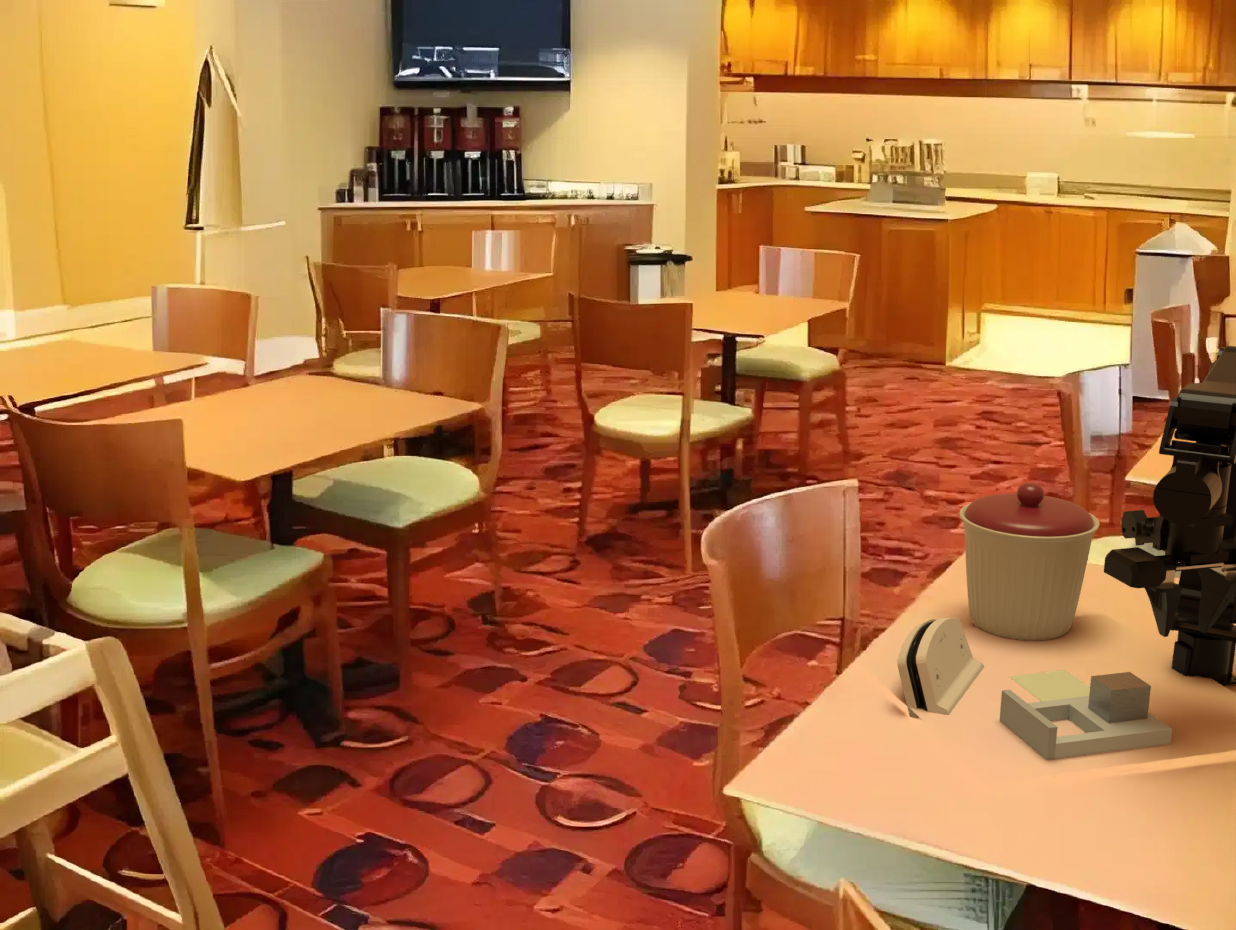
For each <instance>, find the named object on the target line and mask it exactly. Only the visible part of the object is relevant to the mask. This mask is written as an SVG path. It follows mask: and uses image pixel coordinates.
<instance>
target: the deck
mask: <svg viewBox="0 0 1236 930" xmlns="http://www.w3.org/2000/svg"><path fill="white" fill-rule="evenodd" d="M1000 696H1001V697H1000V710H999V722H1000V723H1001V724H1002V725H1003V726H1004V727H1006V728H1007V729H1009V730H1010V732H1012V733H1013V734H1014V735H1016V737H1018V738H1019V739H1021V740H1022V742H1024V743H1025V744H1026V745H1027V746H1029V747H1030V748H1031V749H1032V750H1033V751H1035V752H1036V753H1037V754H1038V755H1039V756H1041V757H1042V758H1043V759H1044V760H1046V761H1051V760H1059V759H1069V758H1075V757H1076V758H1077V757H1081V756H1082V757H1083V756H1089V755H1090V756H1091V755H1098V754H1105V753H1113V752H1121V751H1127V750H1128V751H1129V750H1136V749H1144V748H1153V747H1159V746H1167V745H1171V744H1172V737H1173V736H1172V735H1173V734H1172V733H1173V728H1172V727H1170V726H1169V725H1167V724H1166V723H1165V722H1164V721H1162V720H1160V719H1158V718H1157V717H1156V716H1155V715H1153V714H1152V713H1150V712H1148V718H1147V719H1140V720H1132V721H1123V722H1115V723H1107V722H1106V721H1104V720H1103V719H1102V718H1100V717H1099V716H1098V715H1096V714H1095V713H1094V712H1092V711H1091V710H1090V709H1088V704H1089V696H1083V697H1075V698H1066V699H1058V700H1049V701H1034V702H1026V701H1025V699H1022V698H1021V697H1020V696H1019V695H1017V694H1016V693H1015V692H1013V691H1012V690H1011V689H1009V688H1008V689H1002V690H1001V695H1000ZM1064 720H1069V721H1070V722H1072V723H1073V724H1074V725H1076V726H1077V727H1078V728H1079V729H1080V730H1082V731H1084V732H1083V733H1082V732H1081V733H1075V734H1067V735H1058V726H1057V725H1056V724H1055V723H1053V722H1054V721H1064Z"/></svg>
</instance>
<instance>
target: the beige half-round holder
mask: <svg viewBox="0 0 1236 930" xmlns="http://www.w3.org/2000/svg"><path fill="white" fill-rule="evenodd" d="M963 628H964V627H963V625H962V622H961V620H960V619H959V618H958V617H940V618H934V619H928V620H926V621H924V622H921V623H919V624H918V625H916V626H914V627H913V628H912V629H911V630H910V631H909V633H907V636H906V637H905V639H904V640H903V643H902V645H901V648H900V649H899V650H900V651H899V653H898V657H897V660H896V661H897V663H896V664H897V669H898V674H899V678H900V682H901V687H902V691H903V696H904V699H905V702H906V707H907V711H908V715H909V717H910V718H913V719H918V718H920V716H919V714H917V713H916V712H915V711H914V710H913V709H915V710H917V709H918V710H922V709H923V708H924V710H925V711H927V713H931V714H938V715H945V716H950V714H951V713H952V712H953V710H954V709H955V708H956V707H957V705H958V704H959V702H960V701H961V699H962V698H963V697H964V695H965V694H966V692H967V691H968V690H969V688H970V687H971V686H972V685H973V682H974V681H975V680H976V679H977V678H978V676H979V675H980V673H981V672H982V671H983V670H984V668H985V666H984V664H983V662H982V661H980V660H978V659H976V658H974V656H973V654H972V651H971V648H970V645H969V642H968V640H967V637H966V634H965V631H964V629H963Z"/></svg>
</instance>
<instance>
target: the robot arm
mask: <svg viewBox="0 0 1236 930" xmlns="http://www.w3.org/2000/svg"><path fill="white" fill-rule="evenodd" d="M1167 412H1168V413H1167V416H1166V419H1165V424H1164V427H1163V428H1164V429H1163V432H1162V436H1161V437H1162V438H1161V441H1160V445H1159V450H1158V454H1159V455H1164V456H1171V457H1172V465H1171V466H1170V469H1169V471H1167V472H1166V473H1165V475H1164V476H1163V477H1162V478H1161V479H1160V480H1159V481H1158V482H1157V484H1156V486H1155V488H1154V490H1153V495H1152V498H1153V500H1152V502H1153V504H1154V508H1155V509H1156V512H1157V513H1158V514H1159V516H1152V517H1148V516H1147V513H1146V512H1145V510H1144V509H1139V510H1126V511H1123V513H1122V517H1121V518H1122V519H1121V524H1120V526H1121V535H1122V537H1123V538H1124V539H1126V540H1127V539H1134V541H1135V547H1126V548H1116V549H1115V548H1114V549H1111V550H1110V551H1109V552H1108V553H1107V554H1106V555H1105V557H1104V565H1103V573H1104V574H1106V575H1108V576H1110V577H1112V578H1114V579H1116V581H1119V582H1121V583H1122V584H1125V585H1126V586H1127V587H1129V588H1133V589H1144V590H1145V592H1146V594H1147V597H1148V599H1149V603H1150V605H1151V609H1152V613H1153V616H1154V620H1155V623H1156V628H1157V630H1158V631H1157V632H1158V634H1159V635H1160V636H1161V637H1164V638H1167V637H1169V635H1170V631H1177V640H1175V642H1174V645H1173V653H1172V661H1171V662H1172V663H1171V669H1172V670H1174V671H1175V672H1177V673H1178V674H1181V675H1182V676H1183V677H1190V678H1191V677H1198V678H1204V679H1210V680H1212V681H1214V682H1216V683H1218V684H1219V685H1220V686H1222V687H1225V686H1234V685H1236V676H1235V675H1233V670H1234V664H1235V655H1236V345H1226V346H1225V347H1224V346H1221V347H1220V346H1219V349H1218V352H1217V356H1216V360H1214V361H1213V362H1211V363H1210V365H1209V370H1208V374H1207V375H1206V377H1205V378H1204V380H1203V381H1202V382H1194V383H1193V382H1192V383H1188V384H1186V385H1185V386H1184V387H1182V388H1181V389H1180V390H1179V392H1178V394H1177V396H1173V397H1172V398H1171V400H1170V403H1169V408H1168V411H1167ZM1173 438H1174V439H1173ZM1145 544H1152V548H1153V549H1155V550H1157V551H1162V552H1164V554H1163V555H1161V554H1160V555H1155V554H1152V553H1150V552H1149V551H1146V550H1145V549H1143V548H1141V547H1139V546H1144V545H1145ZM1177 572H1180V574H1179V575H1180V576H1179V580H1178V583H1176V582H1175V576H1176V573H1177Z"/></svg>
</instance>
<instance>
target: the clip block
mask: <svg viewBox="0 0 1236 930" xmlns="http://www.w3.org/2000/svg"><path fill="white" fill-rule="evenodd" d="M1089 684H1090V685H1089V686H1090V693H1089V704H1088V709H1090V710H1091V711H1092V712H1094V713H1095V714H1096V715H1098V716H1099V717H1100V718H1102V719H1103V720H1104V721H1106V722H1107V723H1115V722H1123V721H1132V720H1140V719H1147V718H1148V713H1149V709H1150V707H1149V706H1150V699H1151V690H1152V689H1151V688H1152V686H1151V685H1150V684H1149V683H1148V682H1146V681H1144V680H1143V679H1141V678H1139V676H1137V675H1136V674H1134V673H1132V672H1131V671H1125V672H1115V673H1107V674H1106V673H1105V674H1099V675H1091V676H1090V683H1089Z"/></svg>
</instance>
